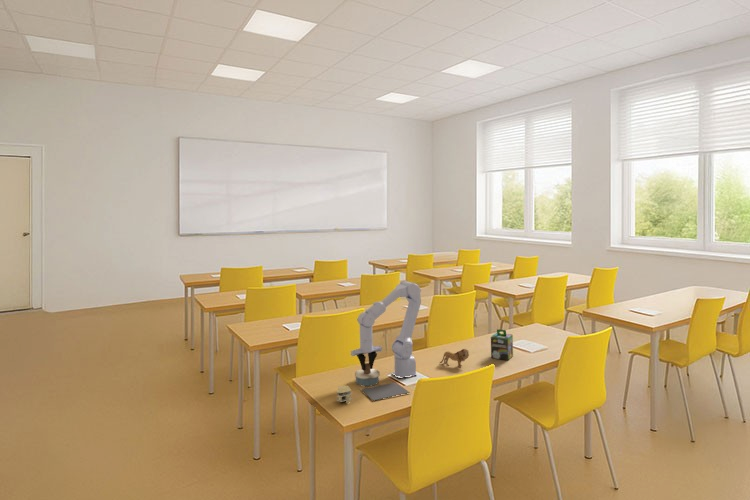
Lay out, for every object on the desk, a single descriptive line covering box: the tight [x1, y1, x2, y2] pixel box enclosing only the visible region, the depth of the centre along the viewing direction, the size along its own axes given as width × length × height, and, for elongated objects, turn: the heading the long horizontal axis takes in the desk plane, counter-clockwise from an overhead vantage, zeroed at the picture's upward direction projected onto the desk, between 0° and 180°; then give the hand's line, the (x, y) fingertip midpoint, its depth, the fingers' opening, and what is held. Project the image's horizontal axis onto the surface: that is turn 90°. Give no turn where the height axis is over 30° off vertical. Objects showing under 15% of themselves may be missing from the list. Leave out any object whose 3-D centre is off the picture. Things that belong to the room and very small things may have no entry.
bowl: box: [355, 375, 380, 387], centre depth 206 cm, size 10×10×3 cm
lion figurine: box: [439, 348, 470, 369], centre depth 225 cm, size 15×5×9 cm, turn 67°
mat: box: [360, 382, 411, 402], centre depth 194 cm, size 17×13×1 cm
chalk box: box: [490, 328, 514, 361], centre depth 236 cm, size 9×9×15 cm
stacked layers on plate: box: [336, 385, 352, 404], centre depth 185 cm, size 10×9×6 cm
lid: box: [354, 362, 381, 379], centre depth 206 cm, size 11×11×5 cm
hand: (367, 368), depth 206 cm, fingers closed on lid, 3 cm apart
